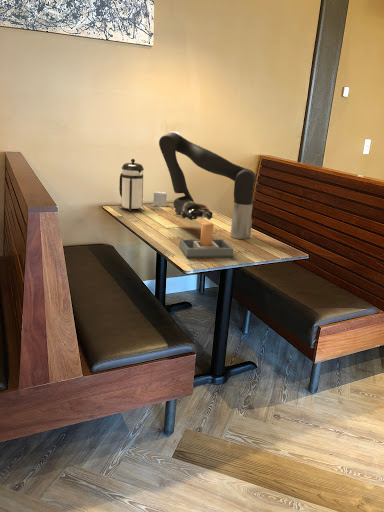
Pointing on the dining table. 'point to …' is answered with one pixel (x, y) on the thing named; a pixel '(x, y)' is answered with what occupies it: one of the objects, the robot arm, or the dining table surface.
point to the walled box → (205, 249)
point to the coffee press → (131, 185)
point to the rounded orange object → (206, 234)
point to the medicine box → (160, 199)
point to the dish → (200, 207)
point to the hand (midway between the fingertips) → (200, 217)
